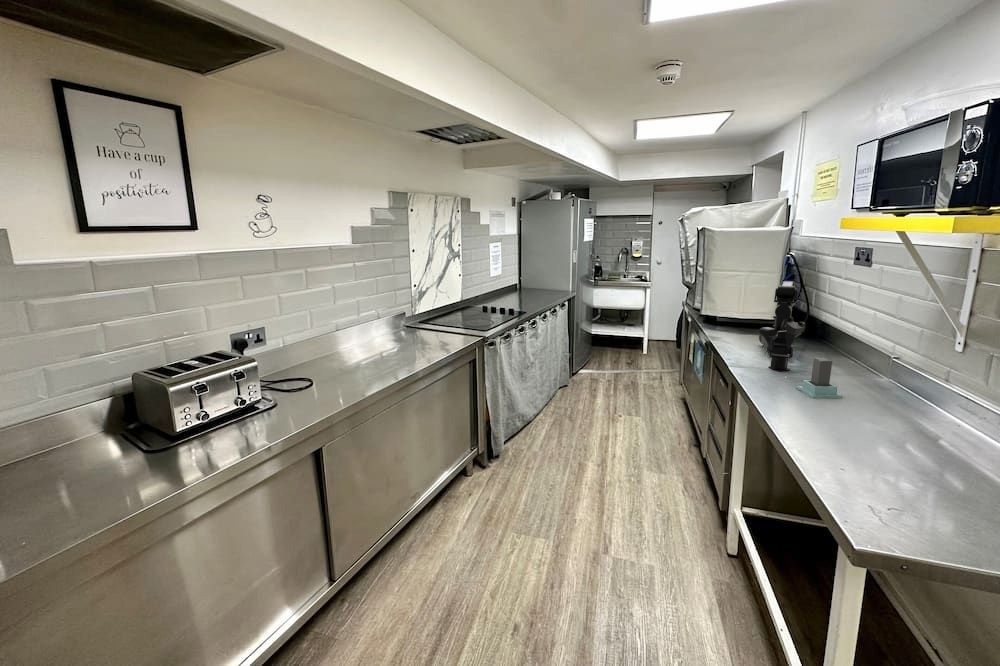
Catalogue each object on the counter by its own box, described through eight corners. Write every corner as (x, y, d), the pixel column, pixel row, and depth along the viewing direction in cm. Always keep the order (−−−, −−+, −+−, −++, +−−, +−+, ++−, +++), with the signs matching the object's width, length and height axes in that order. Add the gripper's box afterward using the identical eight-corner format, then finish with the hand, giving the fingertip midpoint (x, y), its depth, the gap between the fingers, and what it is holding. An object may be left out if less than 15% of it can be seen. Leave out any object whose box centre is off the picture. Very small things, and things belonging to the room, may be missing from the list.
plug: (810, 388, 183) (813, 357, 180) (821, 388, 183) (825, 357, 180) (816, 392, 179) (820, 361, 176) (828, 392, 178) (832, 360, 176)
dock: (796, 388, 187) (797, 379, 186) (824, 388, 186) (826, 378, 185) (812, 397, 176) (813, 388, 175) (842, 397, 175) (843, 388, 174)
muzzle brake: (765, 358, 229) (767, 339, 227) (757, 345, 254) (758, 327, 252) (786, 359, 226) (788, 339, 223) (776, 346, 251) (778, 328, 249)
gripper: (781, 319, 185) (777, 355, 188) (817, 315, 189) (813, 351, 193) (759, 315, 196) (756, 349, 199) (795, 311, 200) (791, 345, 203)
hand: (779, 349), depth 198 cm, fingers open, 9 cm apart
